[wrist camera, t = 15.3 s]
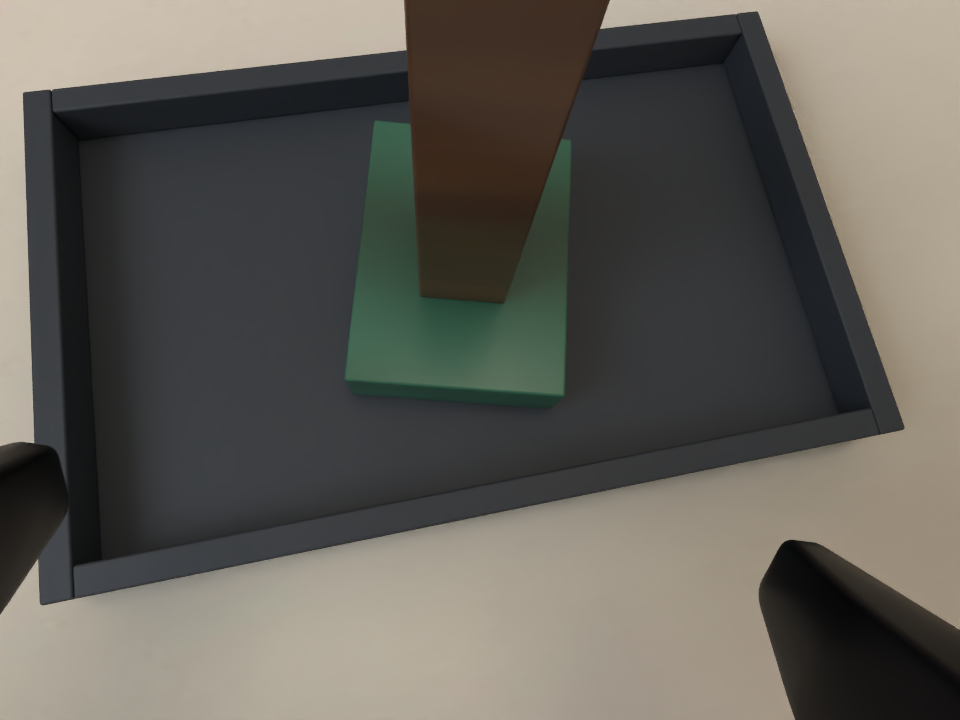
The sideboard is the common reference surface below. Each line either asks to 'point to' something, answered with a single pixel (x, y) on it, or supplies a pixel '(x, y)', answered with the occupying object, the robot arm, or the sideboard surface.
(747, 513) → the sideboard surface
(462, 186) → the brown post on base
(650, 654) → the sideboard surface
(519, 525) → the sideboard surface
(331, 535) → the tray
